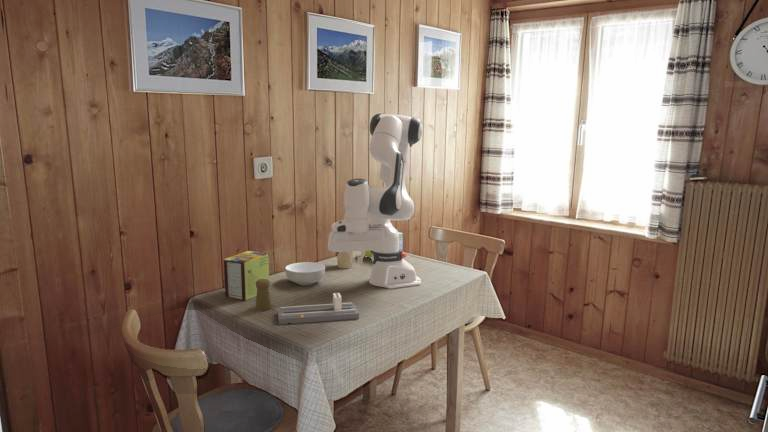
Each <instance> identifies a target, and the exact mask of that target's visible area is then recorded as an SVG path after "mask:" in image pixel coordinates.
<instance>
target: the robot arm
mask: <svg viewBox="0 0 768 432" xmlns="http://www.w3.org/2000/svg"><path fill="white" fill-rule="evenodd" d="M423 127H424V126H423V122H422V120H421V119H419V118H418V117H414V116H413V117H411V116H408V115H403V114H391V113H390V114H389V113H387V114H384V113H376V114H375V115H373V116H372V117H371V119H370V122H369V132H370V136H371V138H370V143H369V146H368V148H369V152H370V155H371V156H372V158H373V159H374V160H375V161H376V162H377V163H379V164H380V169H379V179H380V181H381V182H383V183H384V184H385V186H372V185H369V182H368V181H367V179H364V178H352V179H349V180H347V181H346V183H345V187H344V188H345V189H344V194H343V195H344V197H343V198H344V199H343V202H344V203H343V206H344V209H345V210H344V215H343V217H344V218H343V219H341V220H338V221H335V222H333V223H332V224H331V229H332V230H331V231H330V232H329V234H328V240H327V241H328V242H327V247H328V248H327V249H328V251H329V252H330V253H337V252H348V255H349V256H350V258H351V263H354V264H356V256H355V257H352V256H351V254H352V251H355V252H360V256H357V263H358V264H362V263H363V259H364V258H365V257H364V256H365V254H366V251H371V250H372V259H371V262H372V265H371V271H370V277H369V282H368V283H369V284H370V285H372V286H376V287H382V288H386V289H390V290H391V289H397V288H405V287H413V286H419V285H420V286H421V284H422V279H421V278H420V277H419V276H418V275H417V273H416V270H415V268H414V266H413V265H412V264H411V263H410V262H408V261H407V260H406V259H405V258H406V257H407V254H406V253H405V252H404V251H403V250H402V251H400V250H399V233H398V232H399V231H398V229H396V228H395V227H394V226H393V223H391V221H396V222H397V221H399V222H400V221H408V220H410V219H411V217H412V216H413V215H414V213H415V202H414V201H413V199H412V198H411V196H410V195H409V193H408V191H407V187H406V177H407V176H406V175H407V169H408V164H409V158H410V157H409V155H410V147H411V148H412V147H413V146H414V145H415V144H417V143H418V142H419V141H420V140H421V137H422V136H423V133H424V128H423Z"/></svg>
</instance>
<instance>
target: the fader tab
mask: <svg viewBox="0 0 768 432" xmlns="http://www.w3.org/2000/svg"><path fill="white" fill-rule="evenodd" d="M342 303H343V302H342V295H341V293H340V292H334V293H332V304H333V308H334V310H342Z"/></svg>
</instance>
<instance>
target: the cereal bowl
mask: <svg viewBox="0 0 768 432" xmlns="http://www.w3.org/2000/svg"><path fill="white" fill-rule="evenodd" d="M284 269H285V271H284V272H285V276H286V277H287V279H288V280H289V281H291V282H293V283H295V284H297V285H299V286H311V285H313V284H315V283H317V282H319V281H320V280H322V279H323V277H324V275H325V273H326V266H325V265H324V264H322V263H319V262H312V261H311V262H310V261H308V262H307V261H305V262H304V261H303V262H295V263H291V264H288V265H286V266H285V268H284Z"/></svg>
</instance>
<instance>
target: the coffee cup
mask: <svg viewBox="0 0 768 432" xmlns="http://www.w3.org/2000/svg"><path fill="white" fill-rule="evenodd" d="M351 256H352V257H355V258H356V251H352V254H351ZM336 259H337V268H339V267H340V268H339V269H341V268H350V269H353V268H354V267H355V263H351V258H350V256H349V255H348V252H336ZM352 267H353V268H352Z"/></svg>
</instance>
